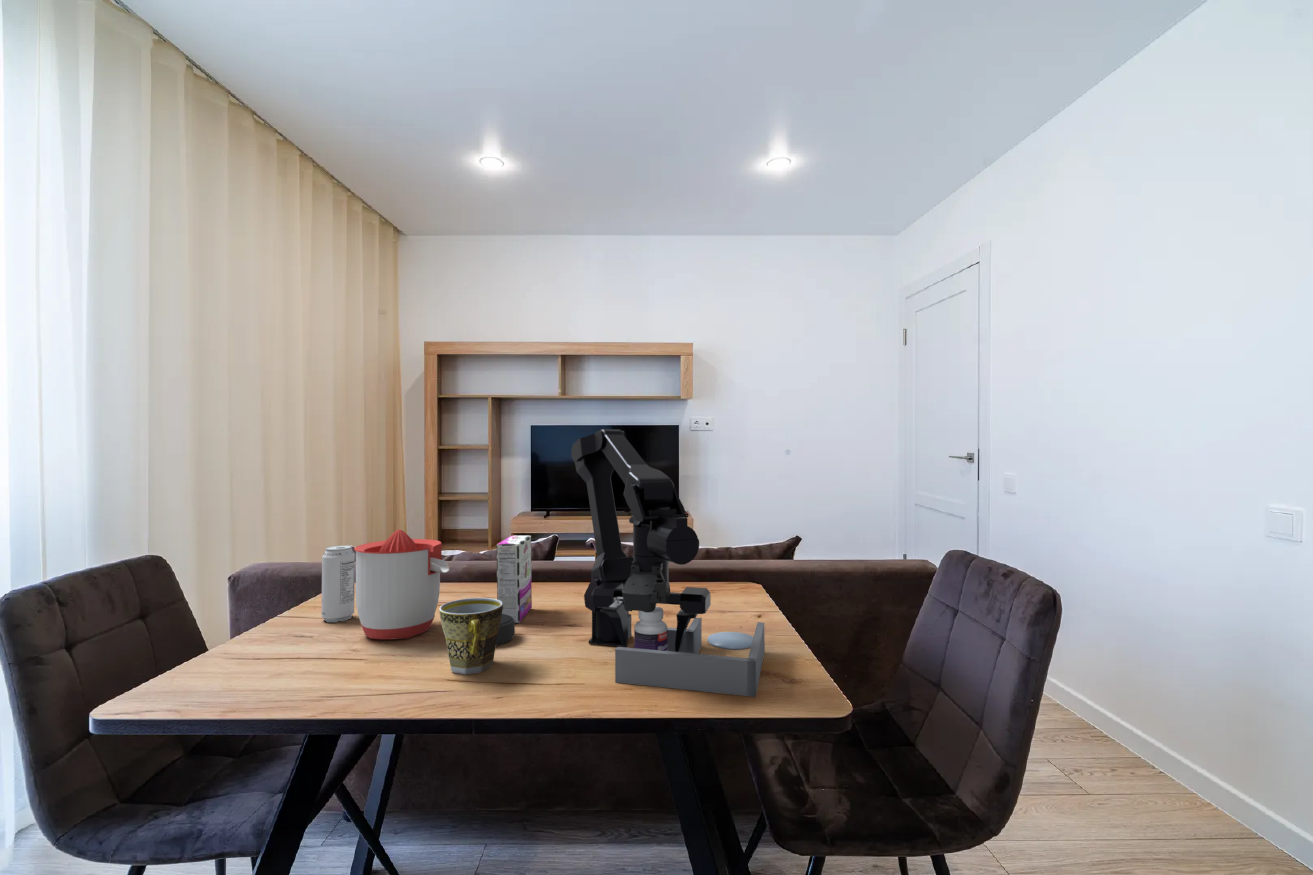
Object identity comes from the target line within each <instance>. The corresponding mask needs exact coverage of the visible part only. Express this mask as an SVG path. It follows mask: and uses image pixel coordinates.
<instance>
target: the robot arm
mask: <svg viewBox="0 0 1313 875" xmlns="http://www.w3.org/2000/svg"><path fill="white" fill-rule="evenodd" d="M571 458H572V461H573V462H574V465H575V470H576V473H577V474H578V475H579V476H580V478H581V479H582V480H583V481H584V482H585V484H586V489H587V495H588V501H589V510H590V515H591V522H592V523H591V524H592V530H593V537H594V542H595V550H596V558H595V561H594V563H593V566H592V568H591V570H590V577H591V578H590V582H589V584H588V586H587V588H586V590H585V592H584V594H583V600H584V601H583V602H584V606H585V607H586V608H587V609H588V610H590V611H591V637H590V639H588V644H590V645H598V646H599V645H601V646H611V647H612V646H613V647H626V648H628V645H629V639H630V638H631V637H632V634H633V633H632V614H631V613H629V612H633V611H637V612H639V611H644V612H647V613H649V612H652V611H654V610H655V608H656V607H657V604H659V605H660V604H661V605H675V606H676V605H677V606H679V608H680V609H679V610H678V612H677V613H676V628H677V630H676V640H675V652H679V651H680V648H681V645H682V641H683V638H684V635H685V632H686V629H688V628H689V625H690V621H691V619H693V620H694V618H698V615H703V614H707V611H708V609H709V608H710V606H711V600H712V599H711V598H712V597H711V592H710V590H709V589H708V588H707V587H694V586H691V587H690V586H686V587H685V588H684V589H683V591H682V592H674V591H673V592H672V591H671V585H670V580H669V564H670V562H671V563H672V564H676V565H680V566H681V565H683V566H684V565H687V564H690V563H691V562H692V561H693V560H694V559H695V558H696V557H697V555H698V552H699V549H700V540H699V537H698V535H697V533H696V531H695V530H694V529H693V528H692V527H691V526H689V525H688V517H686V513H685V507H684V505H683V502H682V501H681V499H680V496H679V495H678V491H677V488H676V486H675V484H674V482H673V481H672V479H671V478H670V477H669V475H667V474H665V473H664V472H663V471H661V470H660V469H657V468H655V467H651V466H650V465H648V464H647V463H646V462H645V460H644V459H643V458H642V456H641V455H640V454H639V453H638V451H637V450H636V449H635V448H634V446H633V445H632V444H631V443H630V442H629V440H628V439H627V434H626V432H625V431H624V430H621V429H607V428H606V429H604V428H603V429H602V428H601V429H600V430H597V431H595V433H592V434H589V435H585V436H583V437H579V438H578V439H577V440H576V441H575V442H574V443H573V444H572V446H571ZM614 471H615V472H616V473H617V475H618V476H619V478H620V479H621V480H622V482H623V484H624V491H623V497H624V499H625V502H626V504H627V506H628V508H629V510H630V512H631V513H632V515H631V516H630V518H629V519H628V522H629V523H630V524H633V526H632V528H633V529H632V535H633V536H632V547H633V548H632V550H633V551H632V552H633V554H632V556H628V555H627V554H626V553H625V551H623V545H622V540H621V534H620V527H619V522H618V516H617V510H616V503H615V497H614V491H613V484H612V474H614Z"/></svg>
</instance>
